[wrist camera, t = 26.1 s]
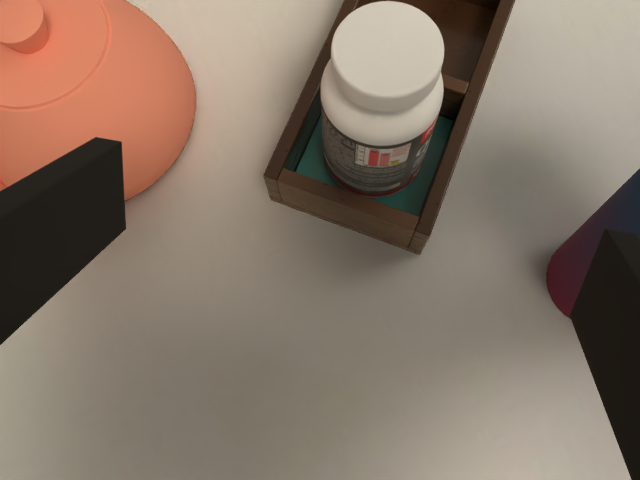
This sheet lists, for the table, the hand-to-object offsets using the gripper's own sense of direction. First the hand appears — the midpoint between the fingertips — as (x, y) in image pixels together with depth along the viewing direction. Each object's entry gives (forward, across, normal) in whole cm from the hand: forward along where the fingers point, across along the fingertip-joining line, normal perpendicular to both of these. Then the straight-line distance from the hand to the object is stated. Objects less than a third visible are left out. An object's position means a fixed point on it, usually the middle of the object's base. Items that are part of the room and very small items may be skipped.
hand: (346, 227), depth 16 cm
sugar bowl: (+17, -17, -6) cm, 24 cm away
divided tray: (+21, 0, -1) cm, 21 cm away
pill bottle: (+18, 0, -4) cm, 18 cm away
